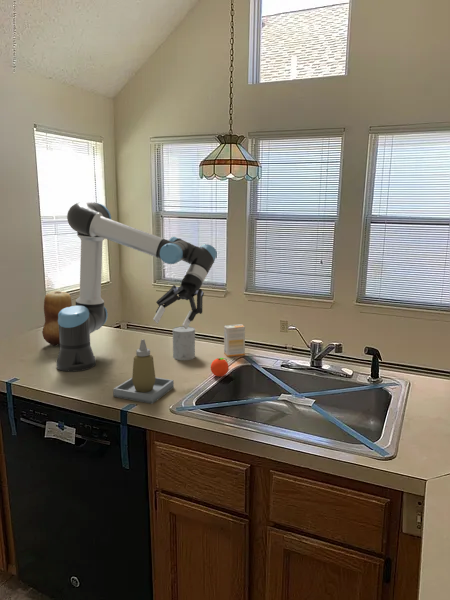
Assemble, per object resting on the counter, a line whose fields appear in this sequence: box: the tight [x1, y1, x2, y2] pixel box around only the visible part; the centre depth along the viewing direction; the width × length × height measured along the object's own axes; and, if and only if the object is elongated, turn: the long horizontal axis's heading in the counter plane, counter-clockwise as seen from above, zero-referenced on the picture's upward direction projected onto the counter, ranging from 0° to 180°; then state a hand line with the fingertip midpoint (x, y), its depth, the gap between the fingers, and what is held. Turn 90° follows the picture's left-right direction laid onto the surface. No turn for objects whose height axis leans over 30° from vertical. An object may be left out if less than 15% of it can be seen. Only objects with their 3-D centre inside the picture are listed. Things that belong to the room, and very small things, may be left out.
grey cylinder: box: [172, 325, 196, 361], centre depth 197 cm, size 10×10×12 cm
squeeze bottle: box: [131, 338, 156, 392], centre depth 158 cm, size 8×8×18 cm
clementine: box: [210, 357, 230, 377], centre depth 176 cm, size 8×7×7 cm
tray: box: [112, 376, 175, 405], centre depth 160 cm, size 15×15×3 cm
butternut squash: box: [41, 290, 73, 347], centre depth 211 cm, size 14×13×25 cm
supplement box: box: [223, 323, 246, 358], centre depth 200 cm, size 8×5×13 cm, turn 108°
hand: (169, 324), depth 169 cm, fingers open, 13 cm apart
